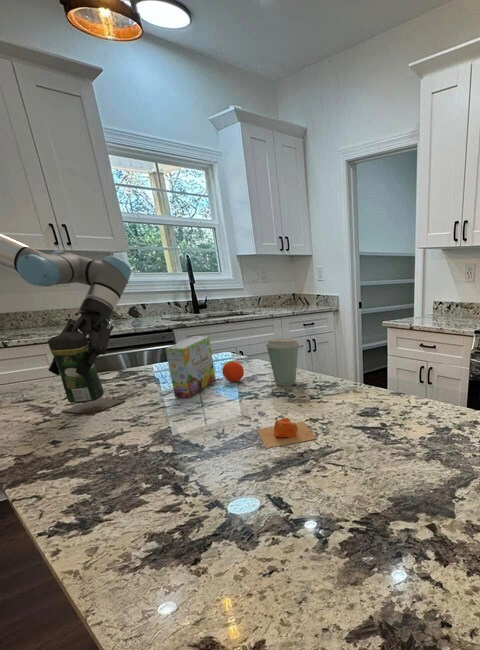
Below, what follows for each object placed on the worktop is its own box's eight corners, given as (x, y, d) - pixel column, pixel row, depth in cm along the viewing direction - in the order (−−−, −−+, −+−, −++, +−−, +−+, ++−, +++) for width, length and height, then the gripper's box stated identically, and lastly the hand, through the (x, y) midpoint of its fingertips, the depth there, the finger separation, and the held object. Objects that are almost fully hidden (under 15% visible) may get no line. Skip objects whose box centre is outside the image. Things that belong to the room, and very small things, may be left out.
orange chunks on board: (303, 422, 108) (302, 406, 106) (317, 439, 98) (316, 422, 96) (256, 429, 104) (254, 413, 102) (265, 448, 94) (263, 430, 92)
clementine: (217, 382, 142) (213, 361, 139) (231, 377, 148) (228, 357, 145) (235, 385, 139) (232, 364, 136) (249, 379, 145) (246, 359, 142)
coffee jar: (78, 394, 123) (57, 330, 115) (108, 392, 125) (89, 329, 117) (63, 405, 115) (39, 336, 107) (95, 403, 116) (74, 335, 108)
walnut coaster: (61, 412, 116) (61, 410, 116) (98, 399, 126) (98, 397, 126) (90, 415, 114) (90, 413, 113) (125, 401, 124) (125, 400, 124)
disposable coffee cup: (274, 378, 146) (269, 335, 139) (305, 378, 145) (301, 335, 139) (266, 387, 136) (260, 341, 130) (299, 387, 136) (295, 341, 129)
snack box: (192, 398, 127) (182, 348, 120) (174, 398, 127) (163, 348, 120) (217, 379, 146) (209, 335, 139) (201, 379, 146) (192, 335, 139)
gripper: (139, 314, 121) (110, 383, 114) (81, 312, 126) (49, 378, 119) (120, 297, 115) (87, 368, 107) (58, 296, 119) (23, 364, 112)
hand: (67, 373), depth 113 cm, fingers closed on coffee jar, 9 cm apart
